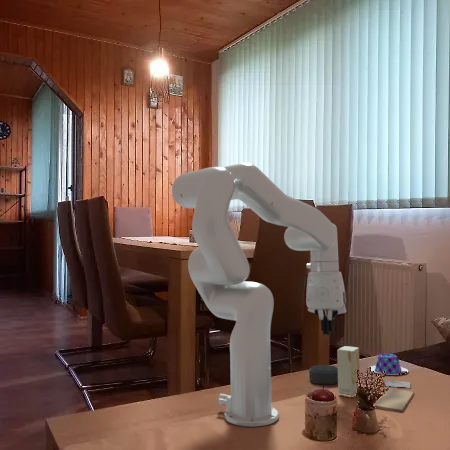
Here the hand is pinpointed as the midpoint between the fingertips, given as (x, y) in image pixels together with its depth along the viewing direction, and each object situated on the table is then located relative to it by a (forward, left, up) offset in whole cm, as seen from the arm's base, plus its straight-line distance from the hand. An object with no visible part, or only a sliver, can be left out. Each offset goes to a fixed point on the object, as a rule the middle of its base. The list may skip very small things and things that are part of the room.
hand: (327, 333), depth 131 cm
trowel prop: (+11, +13, -15) cm, 23 cm away
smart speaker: (-4, +8, -16) cm, 18 cm away
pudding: (+10, +28, -16) cm, 34 cm away
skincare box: (+6, -1, -16) cm, 17 cm away
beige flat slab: (+15, -1, -16) cm, 22 cm away
